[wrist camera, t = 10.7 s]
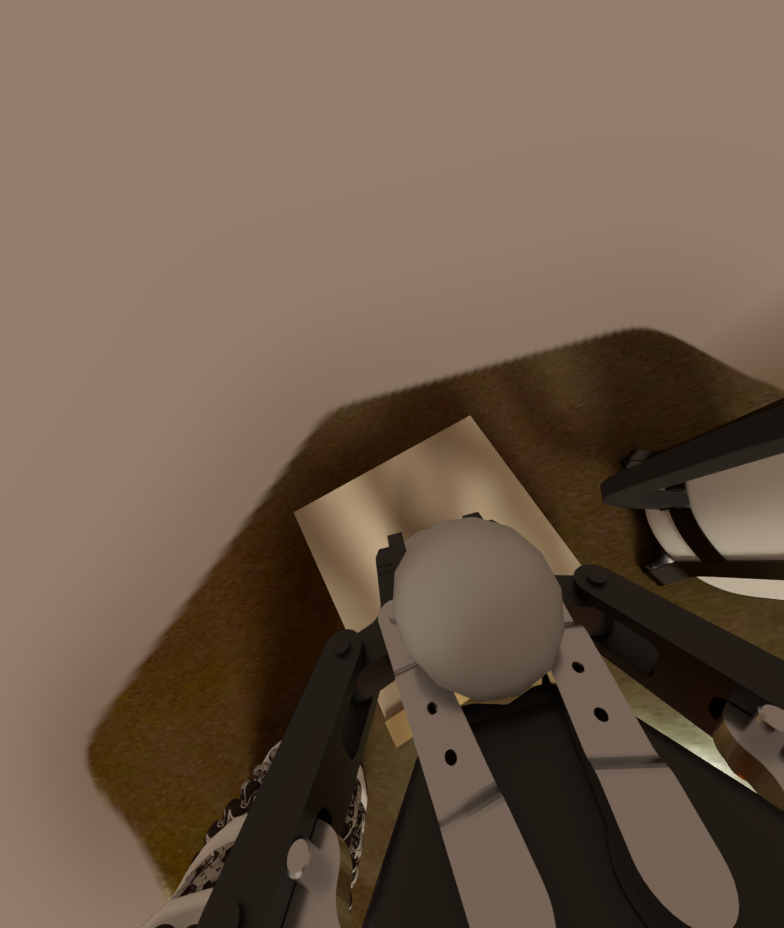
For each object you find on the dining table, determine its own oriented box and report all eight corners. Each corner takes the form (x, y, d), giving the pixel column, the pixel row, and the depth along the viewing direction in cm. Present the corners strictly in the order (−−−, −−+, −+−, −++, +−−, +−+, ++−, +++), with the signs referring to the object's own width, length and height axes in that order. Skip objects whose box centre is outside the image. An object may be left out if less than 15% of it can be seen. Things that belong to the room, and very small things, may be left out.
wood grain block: (460, 439, 29) (470, 413, 24) (570, 594, 24) (612, 603, 19) (314, 521, 27) (291, 511, 22) (399, 705, 22) (396, 747, 17)
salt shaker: (372, 579, 19) (305, 605, 7) (430, 514, 20) (460, 438, 8) (442, 651, 18) (513, 848, 5) (500, 576, 19) (668, 599, 7)
